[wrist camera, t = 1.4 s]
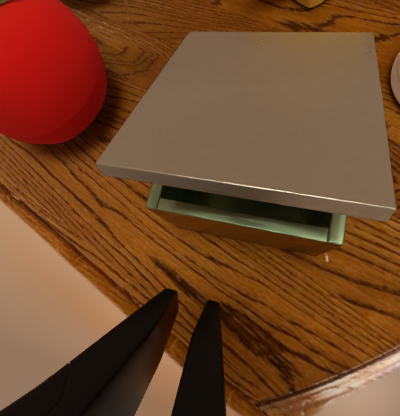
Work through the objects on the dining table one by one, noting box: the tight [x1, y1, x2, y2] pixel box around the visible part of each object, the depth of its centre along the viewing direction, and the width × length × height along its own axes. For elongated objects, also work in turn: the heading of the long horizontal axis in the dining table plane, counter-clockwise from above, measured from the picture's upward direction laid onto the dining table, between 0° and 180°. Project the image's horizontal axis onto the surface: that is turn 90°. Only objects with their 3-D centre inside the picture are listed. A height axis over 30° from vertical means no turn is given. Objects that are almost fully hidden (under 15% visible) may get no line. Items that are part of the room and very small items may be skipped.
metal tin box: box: [146, 183, 347, 256], centre depth 20 cm, size 13×12×7 cm
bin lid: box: [96, 32, 396, 222], centre depth 14 cm, size 13×12×1 cm
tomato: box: [0, 0, 107, 144], centre depth 25 cm, size 13×14×12 cm
